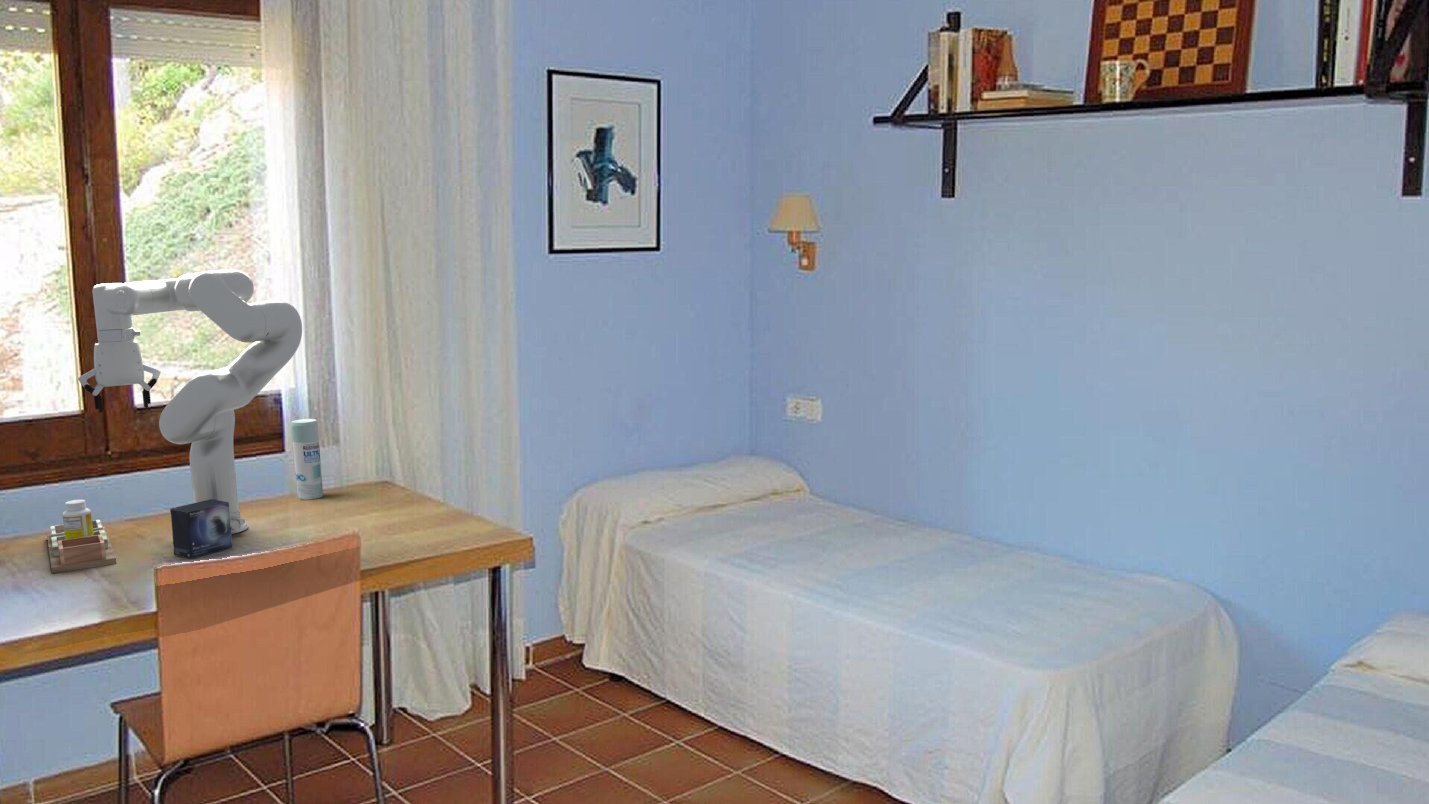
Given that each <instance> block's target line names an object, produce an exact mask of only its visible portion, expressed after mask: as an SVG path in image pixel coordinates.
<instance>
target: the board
mask: <svg viewBox="0 0 1429 804" xmlns="http://www.w3.org/2000/svg"><path fill="white" fill-rule="evenodd" d="M92 525H93V534H94V535H93V536H86V537H79V538H72V539H65V532H64V533H60V532H62V531H64V524H63V523H62V524H56V525H50V531H51V532H50V533H46V539H47V540H48V541H47V546H48V547H49V548H48V554H49V559H50V560H49V561H50V566H51V567H50V568H51V573H52V574H57V573H64V572H70V571H77V570H82V569H83V570H84V569H89V568H97V567H103V566H108V565H109V566H110V565H115V564H117V557H116V554H115V552H114V549H113V546H112V543H111V540H110V536H109V535H108V531H107V530H106V526H105V525H104V526H103V525H102V523H101V520H100V519H93V520H92Z"/></svg>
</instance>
